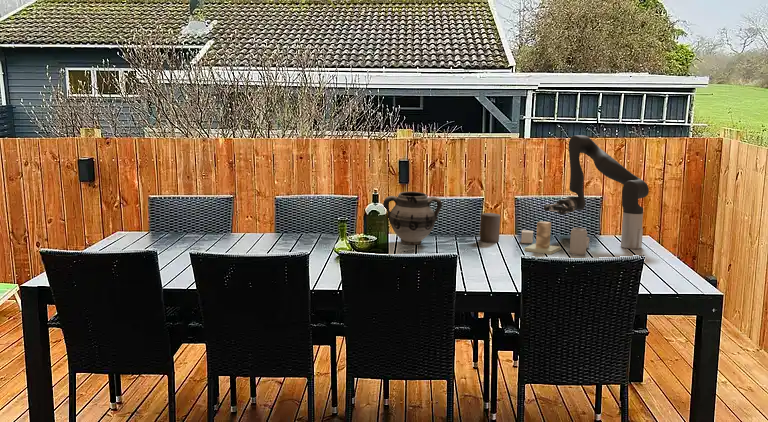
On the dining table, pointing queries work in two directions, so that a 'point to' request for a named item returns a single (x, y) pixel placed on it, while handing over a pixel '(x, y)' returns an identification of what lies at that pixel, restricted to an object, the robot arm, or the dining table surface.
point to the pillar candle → (490, 227)
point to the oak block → (543, 234)
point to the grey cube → (527, 236)
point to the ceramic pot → (412, 216)
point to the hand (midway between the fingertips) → (554, 209)
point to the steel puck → (587, 243)
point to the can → (578, 241)
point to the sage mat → (542, 249)
